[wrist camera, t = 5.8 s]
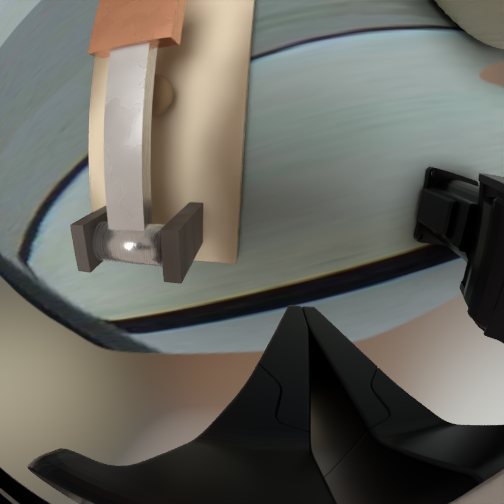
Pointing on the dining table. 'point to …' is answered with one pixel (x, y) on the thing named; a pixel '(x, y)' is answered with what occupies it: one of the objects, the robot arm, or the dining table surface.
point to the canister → (478, 18)
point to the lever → (131, 122)
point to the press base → (186, 140)
